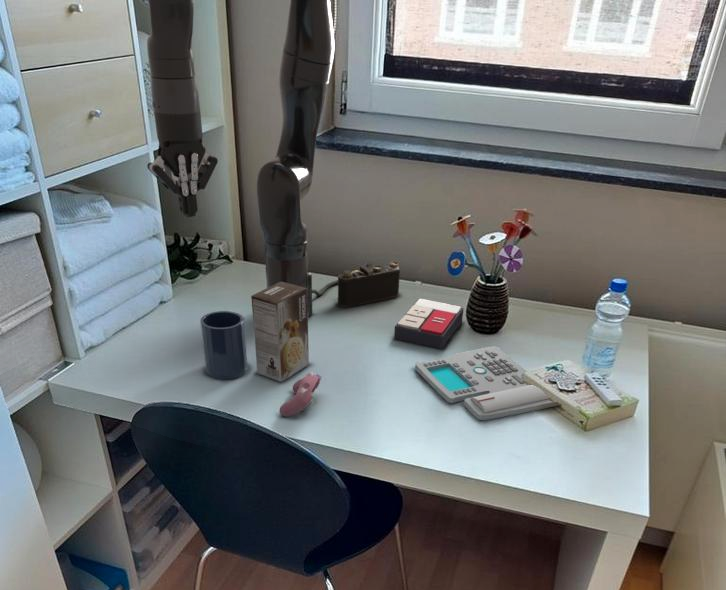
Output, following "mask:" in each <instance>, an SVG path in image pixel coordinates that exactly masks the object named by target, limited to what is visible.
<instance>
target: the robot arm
mask: <svg viewBox="0 0 726 590" xmlns="http://www.w3.org/2000/svg"><path fill="white" fill-rule="evenodd" d="M139 1H140V3H141V4H143V6H145V7H146V8H148V9H149V17H150V34H149V35H148V36H147V39H146V50H147V51H146V52H147V60H148V66H149V73H150V75H149V76H150V92H151V93H150V94H151V105H152V108H153V116H154V123H155V129H156V137H157V140H158V148H157V157H156V158H155V159H154V161H153V162H148V163H147V165H146V166H147V170H149V171H150V173H151V174H152V175H153V176H154V177H155V178H156V179H157V180H158V181H159V183H160V184H161V185H162V186H163V187H164V188H165V189H166V190H167V191H168V192H170V193H173V194H175V195H177V200H178V207H179V212H180V214H182V216H183V217H185V218H192V217H196V215H197V213H198V202H197V193H198V192H199V191H200V190H205V189H206V187H207V185H208V184H209V181H210V179H211V177H212V176H213V173H214V171H215V169H216V168H217V167H216V166H217V165H218V162H219V160H218V158H217V157H216V156H213V155H211V154H210V153H208V152H207V149H206V146H205V145H204V142H203V137H204V135H203V126H202V125H203V124H202V115H201V106H200V96H199V95H200V94H199V88H198V85H197V79H196V72H195V71H196V70H195V63H194V53H193V52H194V51H193V46H192V45H193V44H192V43H193V32H194V17H195V15H194V14H195V13H194V12H195V3H194V2H195V0H139ZM289 2H290V3H289V9H288V17H287V22H286V23H287V24H286V31H285V36H284V41H283V46H282V52H281V59H280V65H279V66H280V67H279V72H278V73H279V74H278V91H279V99H280V105H281V115H282V117H281V118H282V124H281V132H280V136H279V141H278V146H277V149H276V150H277V151H276V154H275V156H274V158H272V159H271V160H269V161H267V162H265V163H264V164H263V165H262V166H261V167H260V168H259V170H258V171H257V176H256V182H255V183H256V185H255V186H256V200H257V210H258V211H257V212H258V221H259V225H260V229H261V230H262V233H263V242H264V243H263V245H264V261H265V262H264V263H265V264H264V265H265V282H266V288H269V287H271V286H273V285H275V284H277V283H279V282H285V283H288V284H293V285H297V286H300V287H304V288H307V307H308V318H309V317H310V316H312V315H313V294H314V295H316V296H317V297H320V296H322V295H323V294H324V293H325V292H326V291H327V290H328V289H329V288H330V287H332V286H335V285H338V279H337V280H333V281H331V282H329V283H327V284H326V285H325V286H324V287H323V288H322V289H321V290H320V291H318V290H317V289H313V275H312V273H311V272H309V253H308V252H309V248H308V243H309V242H308V227H307V225H306V223H304V222H303V221H302V217H301V201H302V200H303V199H304V198H305V197H306V196H307V195H308V193H309V192H310V189H311V187H312V182H313V174H314V163H315V153H316V144H317V136H318V131H319V127H320V123H321V119H322V116H323V111H324V107H325V100H326V96H327V92H328V88H329V83H330V78H331V73H332V70H333V69H332V68H333V63H334V58H335V33H334V24H333V16H332V8H331V0H290V1H289ZM166 168H167V169H168V170H169V171H170V173H171V178H172V179H171V178H170V177H169V175H168V174H167V173H166V170H167V169H166ZM365 265H366V266H367V267H368V268H369V267H370V266H369V263H367V262H364V263H363V264H362V266H365ZM358 271H360V269H358Z"/></svg>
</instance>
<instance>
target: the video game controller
mask: <svg viewBox="0 0 726 590" xmlns="http://www.w3.org/2000/svg"><path fill="white" fill-rule="evenodd" d="M322 377H323V376H321V375H319V374H317V373H316V372H312V371H310V372H308V373H307V374H306V375H305V376H304V377H302V378H300V379H297V381H295V382H294V383H293V385H292V391H293V392H294V393H295V395H294V396H293V397H292V398H291V399H290V400H287V401H286V402H284V403H283V404H282V405H281V406H280V407H279V414H280V415H281V416H283V417H292V416H295V415H297V414H298V413H300V412H303V411H304V410H305V409H306V407H308V406H309V407H311V406H312V405H313V404H314V399H313V398H314V397H313V395H314V392H315V391H316V389H318V388H319V385H320V384H321V383H320V382H321V380H322Z"/></svg>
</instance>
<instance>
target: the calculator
mask: <svg viewBox="0 0 726 590" xmlns="http://www.w3.org/2000/svg"><path fill="white" fill-rule="evenodd" d="M463 316H464V307H463V306H459V305H454V304H449V303H444V302H440V301H434V300H430V299H424V298H418V299H416V300H415V302H414V303H413V304H412V306H410V308H409V309H408V310H407V311H406V312H405V313H404V315H403V316H402V317H401V318H400V319H399V321H398V322H397V323H396V324H395V325H394V339H395V340H399V341H404V342H409V343H413V344H417V345H422V346H426V347H431V348H435V349H438V350H439V349H440V350H442V349H443V348H444V347H445V345H446V343H447V342H448V341H449V339H450V338H451V336H452V335H453V334H454V333H455V331H456V330H458V329H459V327H460V326H461V324H462V323H463Z"/></svg>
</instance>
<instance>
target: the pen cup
mask: <svg viewBox="0 0 726 590" xmlns="http://www.w3.org/2000/svg"><path fill="white" fill-rule="evenodd" d="M199 321H200V322H199V323H200V331H201V339H202V348H203V357H204V358H203V359H204V365H205V370H206V371H205V372H206V374H207V375H208V376H209V377H211V378H213V379H216V380H223V381H226V380H234V379H237V378H240V377H242V376H244V375H246V374H247V372H248V354H247V342H246V328H245V327H246V326H245V318H244V317H243V315H242V314H240V313H238V312H235V311H229V310H218V311H212V312H209V313H206V314H204V315H202V317H201V318H200V320H199Z"/></svg>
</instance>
